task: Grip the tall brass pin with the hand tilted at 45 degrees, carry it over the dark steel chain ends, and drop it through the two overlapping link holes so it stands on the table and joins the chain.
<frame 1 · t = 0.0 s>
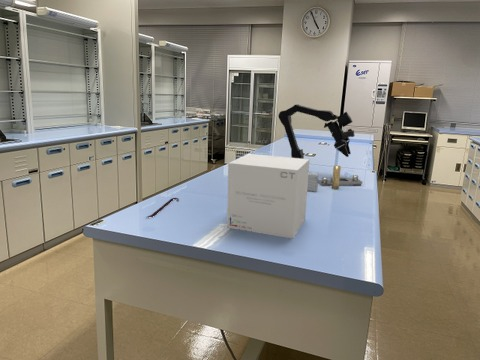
hand: (348, 155, 209), 15 cm above the lab bench, fingers open, 9 cm apart
cube: (267, 223, 143), on the lab bench
brass pin: (335, 188, 196), on the lab bench
medicine box: (309, 190, 191), on the lab bench
steel chain ends: (341, 184, 205), on the lab bench
crowbar: (164, 209, 157), on the lab bench
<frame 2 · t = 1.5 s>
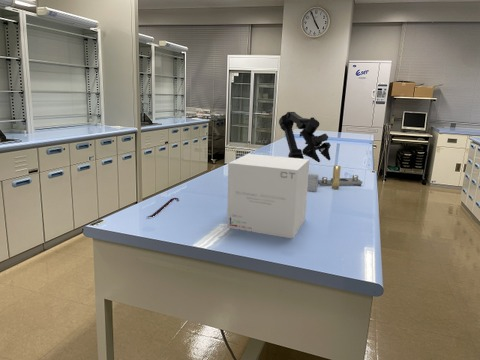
hand: (324, 160, 198), 13 cm above the lab bench, fingers open, 9 cm apart
nothing on the lab bench moved.
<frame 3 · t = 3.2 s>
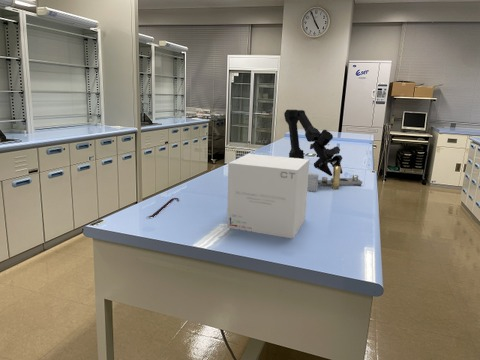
hand: (336, 174, 194), 8 cm above the lab bench, fingers open, 9 cm apart
nothing on the lab bench moved.
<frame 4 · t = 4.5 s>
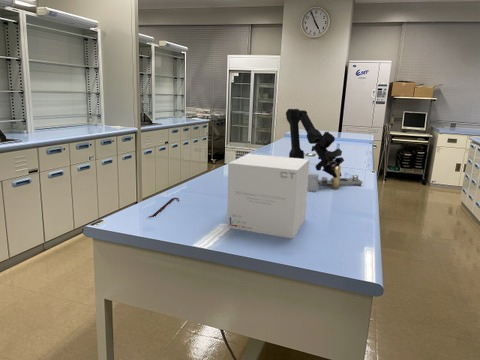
hand: (338, 176, 193), 7 cm above the lab bench, fingers closed on brass pin, 4 cm apart
brass pin: (335, 188, 196), on the lab bench, touching gripper
everything else where it was.
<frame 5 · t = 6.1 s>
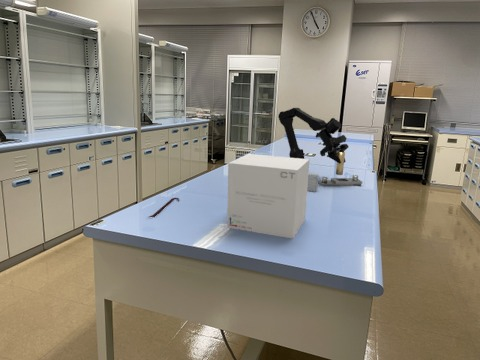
hand: (342, 162, 196), 13 cm above the lab bench, fingers closed on brass pin, 4 cm apart
brass pin: (339, 174, 199), point 7 cm above the lab bench, touching gripper
everything else where it was.
when the fingers open (7 cm above the lab bench, at t = 8.2 s): brass pin stays where it is, resting in steel chain ends.
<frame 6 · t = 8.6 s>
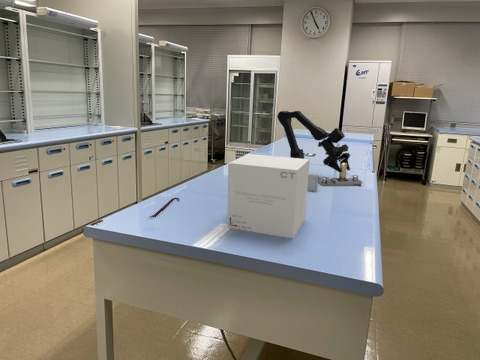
hand: (345, 171, 202), 8 cm above the lab bench, fingers open, 8 cm apart
brass pin: (341, 184, 205), resting in steel chain ends
everything else where it was.
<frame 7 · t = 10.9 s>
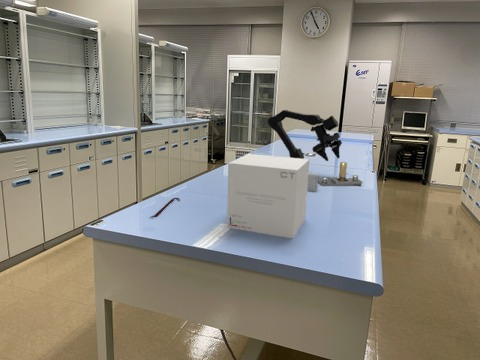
hand: (333, 159, 207), 13 cm above the lab bench, fingers open, 9 cm apart
nothing on the lab bench moved.
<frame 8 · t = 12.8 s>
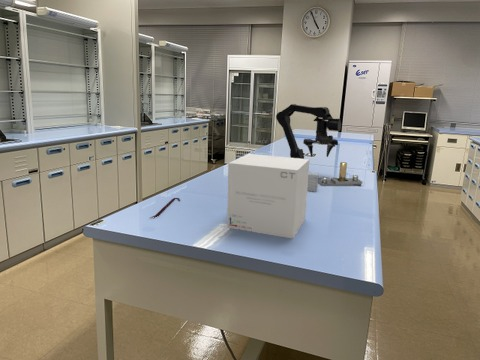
hand: (319, 156, 212), 13 cm above the lab bench, fingers open, 9 cm apart
at the end: brass pin 0.1 cm off-centre on the steel chain ends, point 0.0 cm above the steel chain ends's base; brass pin tilted 0°; the gripper is holding nothing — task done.
